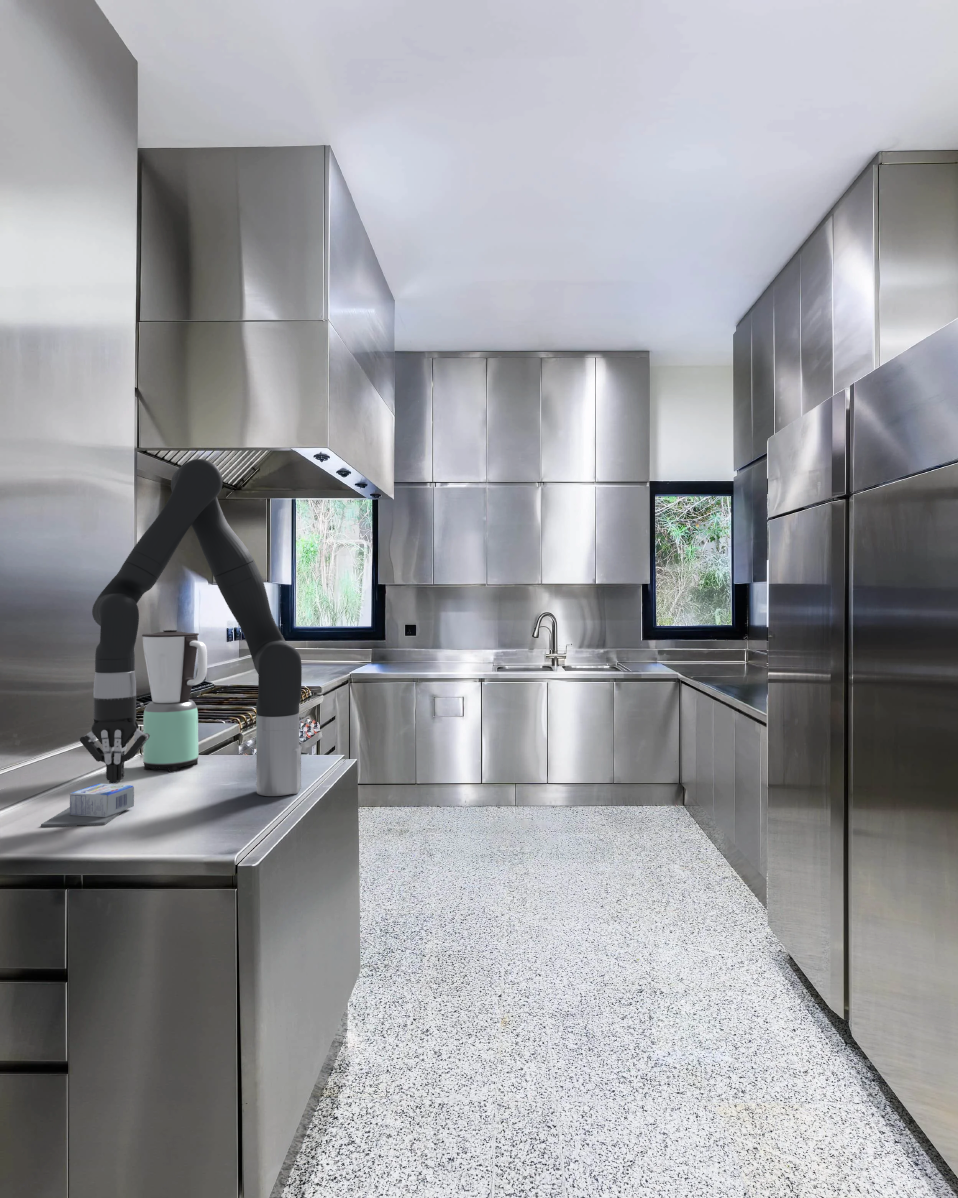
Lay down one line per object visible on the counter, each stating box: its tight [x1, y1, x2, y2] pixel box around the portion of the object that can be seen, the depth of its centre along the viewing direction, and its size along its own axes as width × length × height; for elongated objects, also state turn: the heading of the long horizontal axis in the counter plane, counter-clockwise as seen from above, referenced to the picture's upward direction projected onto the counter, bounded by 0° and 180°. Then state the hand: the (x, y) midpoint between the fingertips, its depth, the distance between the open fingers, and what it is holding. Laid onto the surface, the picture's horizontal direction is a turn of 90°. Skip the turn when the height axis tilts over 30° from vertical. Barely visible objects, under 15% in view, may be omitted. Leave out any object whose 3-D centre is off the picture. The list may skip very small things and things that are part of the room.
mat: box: [40, 806, 125, 828], centre depth 143 cm, size 12×12×1 cm
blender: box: [141, 629, 208, 773], centre depth 186 cm, size 19×13×35 cm
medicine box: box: [69, 783, 135, 817], centre depth 145 cm, size 8×4×9 cm
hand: (115, 782), depth 144 cm, fingers closed
